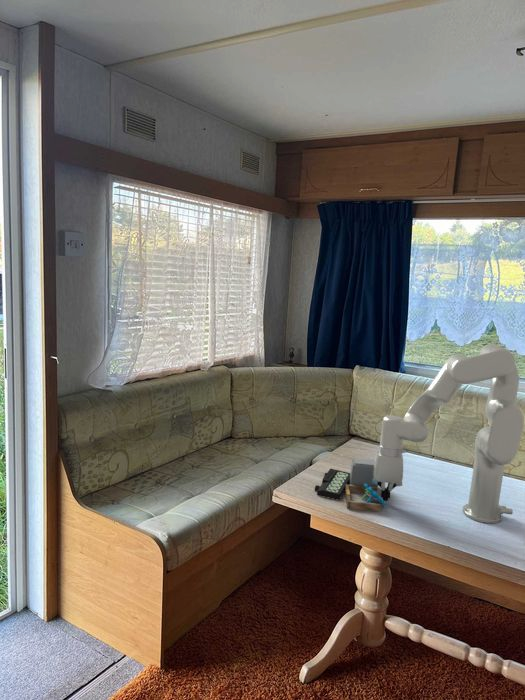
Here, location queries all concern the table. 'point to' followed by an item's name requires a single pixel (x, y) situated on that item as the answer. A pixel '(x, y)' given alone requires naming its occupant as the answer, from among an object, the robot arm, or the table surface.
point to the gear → (372, 495)
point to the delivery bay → (360, 504)
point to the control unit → (362, 472)
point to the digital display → (333, 484)
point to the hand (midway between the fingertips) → (384, 499)
